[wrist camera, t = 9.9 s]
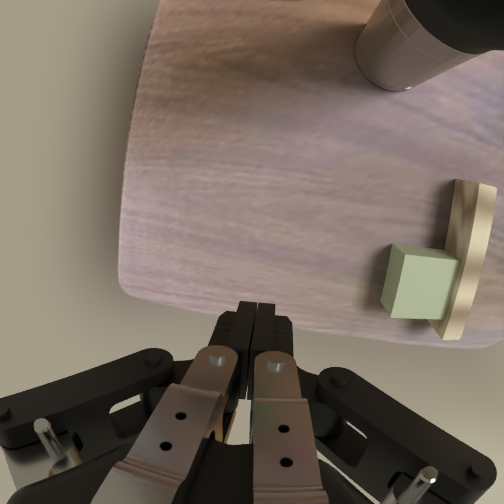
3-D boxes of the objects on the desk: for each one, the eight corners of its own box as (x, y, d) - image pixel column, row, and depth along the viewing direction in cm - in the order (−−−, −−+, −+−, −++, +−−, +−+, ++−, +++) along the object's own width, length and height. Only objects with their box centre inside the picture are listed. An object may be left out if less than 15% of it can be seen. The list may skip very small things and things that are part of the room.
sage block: (391, 243, 38) (405, 254, 33) (442, 249, 37) (460, 260, 32) (379, 300, 40) (390, 317, 35) (429, 303, 39) (443, 319, 35)
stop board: (455, 178, 34) (479, 183, 28) (472, 182, 34) (497, 187, 28) (426, 318, 40) (442, 339, 34) (442, 319, 40) (459, 339, 34)
